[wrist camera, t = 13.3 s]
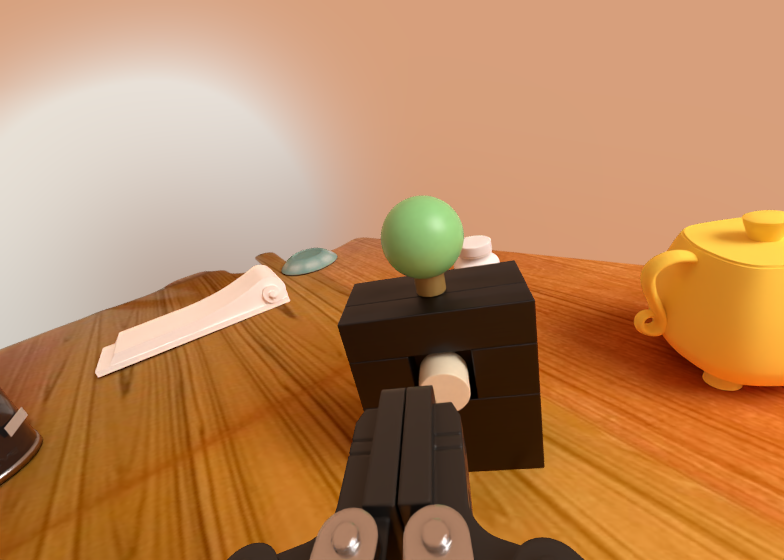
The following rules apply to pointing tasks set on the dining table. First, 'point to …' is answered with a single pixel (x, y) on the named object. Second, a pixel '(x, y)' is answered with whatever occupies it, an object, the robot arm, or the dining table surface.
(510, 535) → the dining table surface
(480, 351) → the dark block with knob
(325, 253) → the saucer
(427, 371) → the stubby beige cylinder
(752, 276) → the teapot
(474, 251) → the pill bottle
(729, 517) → the dining table surface
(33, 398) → the dining table surface
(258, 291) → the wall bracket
